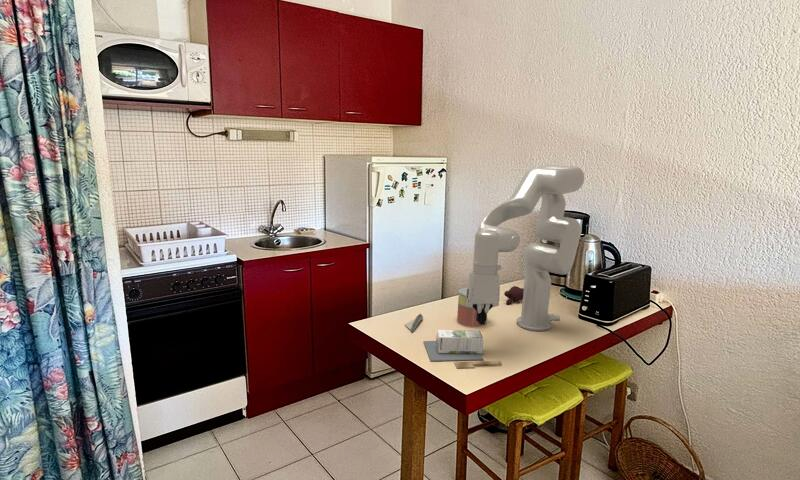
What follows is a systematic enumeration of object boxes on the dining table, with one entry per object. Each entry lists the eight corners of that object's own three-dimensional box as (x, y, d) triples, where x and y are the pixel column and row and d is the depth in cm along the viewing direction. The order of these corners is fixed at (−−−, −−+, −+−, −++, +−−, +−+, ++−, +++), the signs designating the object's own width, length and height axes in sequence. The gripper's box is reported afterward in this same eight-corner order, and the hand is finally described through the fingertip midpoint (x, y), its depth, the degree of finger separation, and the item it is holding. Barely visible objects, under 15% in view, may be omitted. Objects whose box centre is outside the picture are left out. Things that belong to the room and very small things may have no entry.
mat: (472, 341, 157) (472, 339, 157) (483, 360, 143) (483, 359, 143) (423, 342, 155) (423, 341, 155) (430, 361, 141) (430, 360, 141)
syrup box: (479, 346, 152) (435, 346, 151) (480, 330, 150) (436, 329, 150) (482, 354, 146) (437, 353, 146) (483, 337, 145) (438, 336, 144)
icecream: (517, 281, 204) (497, 290, 195) (531, 281, 199) (511, 291, 189) (520, 296, 205) (500, 306, 195) (534, 296, 199) (514, 307, 190)
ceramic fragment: (413, 334, 162) (413, 324, 161) (399, 331, 163) (399, 321, 163) (424, 320, 175) (424, 311, 174) (411, 318, 176) (411, 309, 176)
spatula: (498, 362, 142) (498, 359, 142) (502, 367, 139) (502, 364, 139) (454, 363, 141) (454, 360, 141) (456, 369, 137) (457, 366, 137)
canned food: (475, 314, 181) (477, 285, 178) (492, 324, 171) (495, 294, 169) (451, 318, 176) (452, 289, 173) (467, 329, 166) (470, 298, 164)
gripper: (503, 265, 148) (499, 318, 152) (459, 265, 147) (455, 319, 151) (511, 272, 141) (507, 327, 145) (464, 272, 139) (461, 328, 143)
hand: (481, 323), depth 148 cm, fingers closed
